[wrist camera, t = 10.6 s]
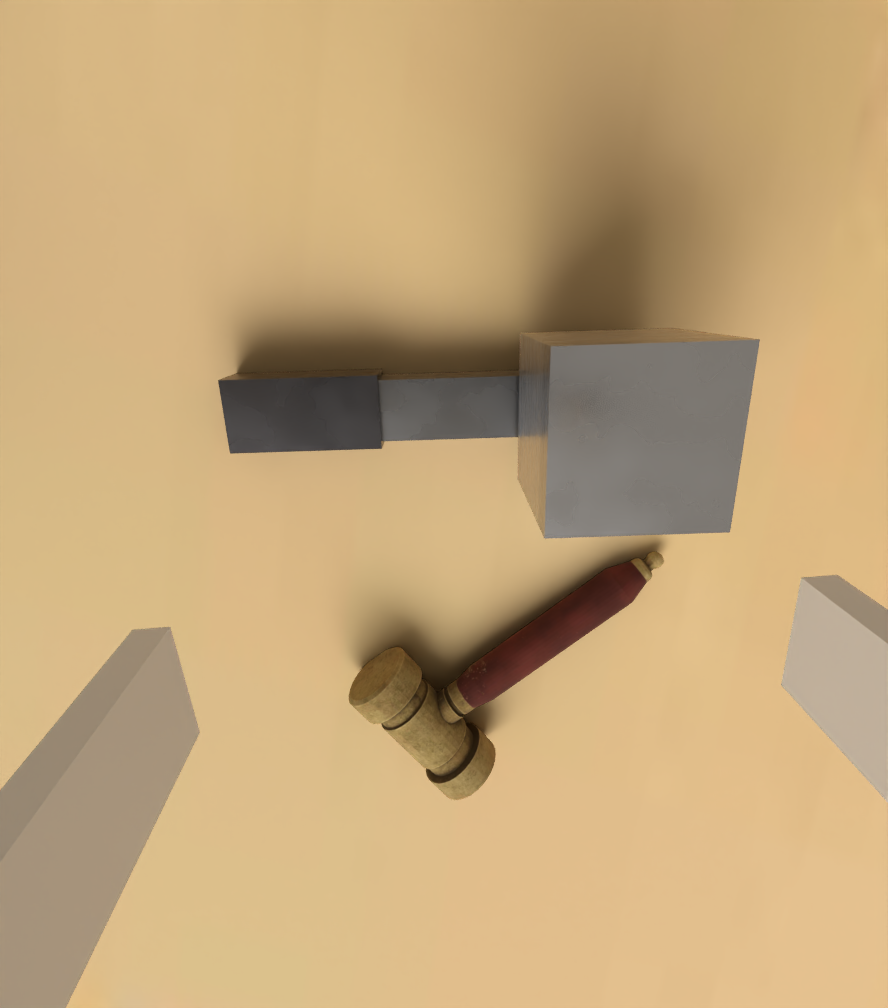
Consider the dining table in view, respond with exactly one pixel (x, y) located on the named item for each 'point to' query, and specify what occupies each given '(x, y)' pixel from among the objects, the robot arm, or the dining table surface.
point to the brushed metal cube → (632, 429)
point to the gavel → (483, 681)
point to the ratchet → (365, 408)
